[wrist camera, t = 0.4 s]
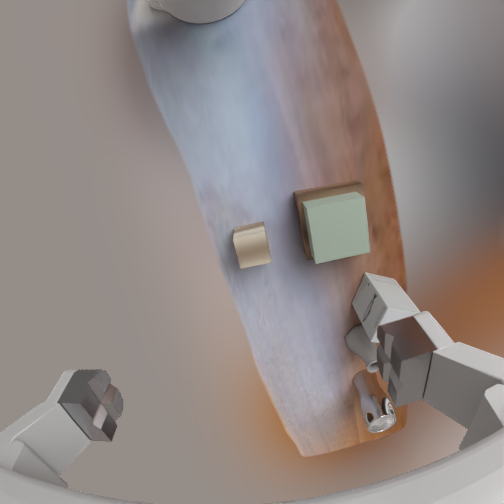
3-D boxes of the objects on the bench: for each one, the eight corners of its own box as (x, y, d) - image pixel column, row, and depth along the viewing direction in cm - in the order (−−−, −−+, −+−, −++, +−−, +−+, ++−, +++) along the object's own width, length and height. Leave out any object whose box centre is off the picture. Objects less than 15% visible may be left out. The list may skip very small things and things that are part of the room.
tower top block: (302, 202, 48) (306, 208, 45) (356, 191, 48) (364, 197, 44) (311, 254, 52) (315, 263, 48) (362, 243, 51) (369, 252, 47)
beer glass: (365, 390, 70) (381, 435, 57) (345, 383, 69) (360, 431, 55) (383, 372, 68) (403, 417, 54) (363, 364, 67) (383, 411, 53)
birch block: (234, 227, 54) (232, 239, 48) (263, 221, 53) (265, 233, 48) (241, 253, 56) (240, 268, 50) (269, 248, 55) (271, 262, 50)
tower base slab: (293, 191, 52) (296, 196, 48) (355, 179, 51) (363, 184, 47) (303, 250, 56) (307, 259, 52) (361, 238, 55) (369, 246, 51)
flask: (354, 354, 65) (366, 385, 56) (338, 336, 63) (350, 367, 54) (380, 336, 64) (396, 366, 54) (367, 317, 61) (383, 347, 52)
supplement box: (364, 271, 57) (388, 306, 46) (394, 278, 58) (422, 312, 46) (350, 303, 60) (369, 342, 48) (380, 309, 61) (403, 346, 49)
